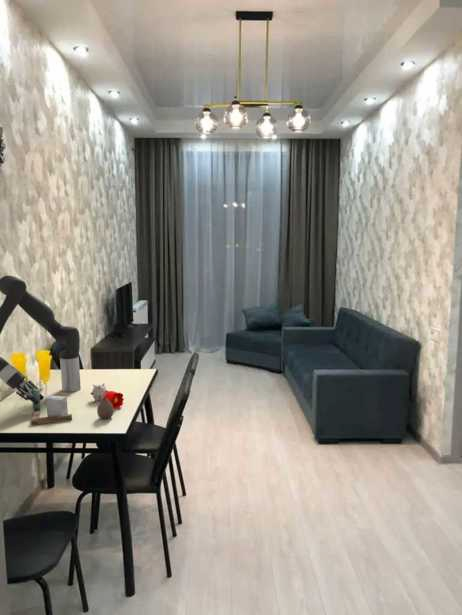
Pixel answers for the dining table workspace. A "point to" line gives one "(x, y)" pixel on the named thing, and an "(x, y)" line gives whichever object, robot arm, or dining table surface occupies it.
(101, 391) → the grey spiky ball
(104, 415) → the grey rounded lump
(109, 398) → the flower
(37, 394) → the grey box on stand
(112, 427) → the dining table surface
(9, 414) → the dining table surface
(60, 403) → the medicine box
